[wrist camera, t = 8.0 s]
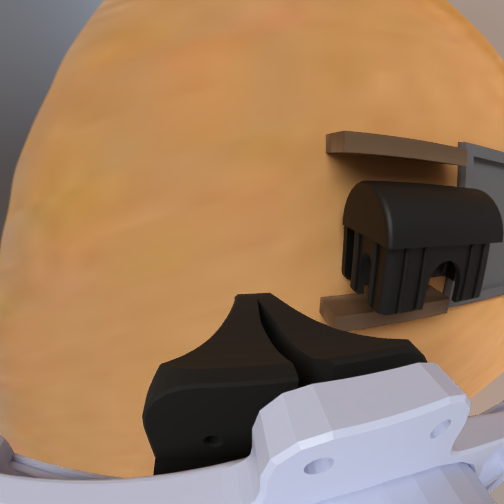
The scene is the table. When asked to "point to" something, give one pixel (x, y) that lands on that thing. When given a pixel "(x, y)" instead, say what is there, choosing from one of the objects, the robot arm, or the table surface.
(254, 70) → the table surface
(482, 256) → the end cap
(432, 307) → the channel walls
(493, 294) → the tray
